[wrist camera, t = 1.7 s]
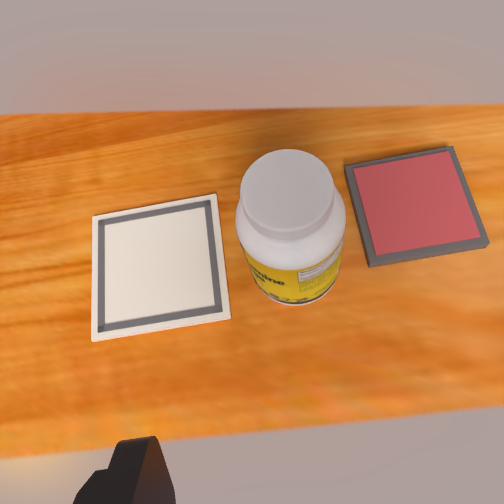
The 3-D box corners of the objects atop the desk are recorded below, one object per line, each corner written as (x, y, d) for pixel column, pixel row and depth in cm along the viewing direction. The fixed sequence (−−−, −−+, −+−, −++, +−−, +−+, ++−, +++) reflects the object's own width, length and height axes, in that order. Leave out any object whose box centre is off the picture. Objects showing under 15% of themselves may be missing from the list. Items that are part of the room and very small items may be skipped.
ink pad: (449, 152, 34) (453, 144, 33) (485, 247, 31) (490, 241, 30) (344, 171, 35) (345, 164, 34) (368, 267, 32) (370, 262, 31)
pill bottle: (236, 256, 33) (201, 174, 23) (307, 212, 34) (303, 115, 24) (282, 326, 31) (266, 268, 21) (357, 278, 31) (376, 199, 21)
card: (216, 195, 35) (215, 192, 35) (231, 318, 31) (230, 317, 31) (94, 218, 36) (91, 215, 36) (93, 341, 32) (90, 340, 32)
